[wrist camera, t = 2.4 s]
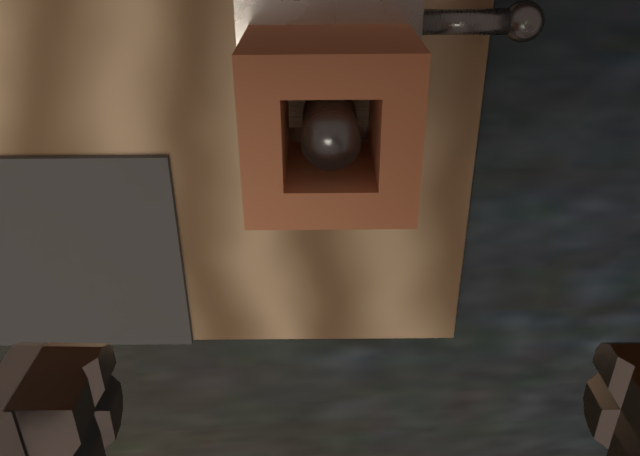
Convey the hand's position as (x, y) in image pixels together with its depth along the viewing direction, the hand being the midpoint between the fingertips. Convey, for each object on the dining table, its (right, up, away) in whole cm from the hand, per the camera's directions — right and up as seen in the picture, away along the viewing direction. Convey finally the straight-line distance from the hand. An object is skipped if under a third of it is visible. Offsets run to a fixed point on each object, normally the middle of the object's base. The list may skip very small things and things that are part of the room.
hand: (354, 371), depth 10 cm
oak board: (-6, +6, +21) cm, 23 cm away
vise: (+2, +9, +17) cm, 19 cm away
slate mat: (-13, +1, +21) cm, 25 cm away
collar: (0, +7, +14) cm, 16 cm away
